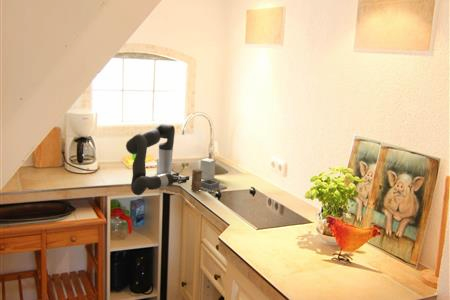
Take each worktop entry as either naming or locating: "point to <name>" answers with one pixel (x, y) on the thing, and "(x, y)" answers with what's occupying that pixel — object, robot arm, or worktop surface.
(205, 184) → the well board
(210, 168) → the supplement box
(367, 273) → the worktop surface
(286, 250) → the worktop surface
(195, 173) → the walnut post
